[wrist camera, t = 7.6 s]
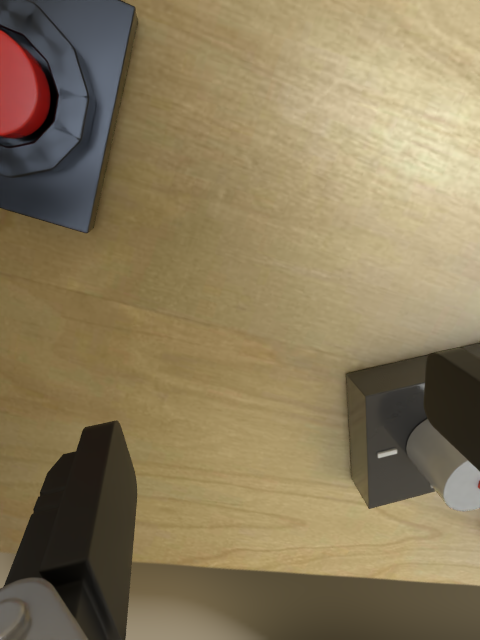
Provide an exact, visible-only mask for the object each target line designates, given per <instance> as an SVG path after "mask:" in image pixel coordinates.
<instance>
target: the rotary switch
mask: <svg viewBox="0 0 480 640" xmlns="http://www.w3.org/2000/svg"><path fill="white" fill-rule="evenodd" d="M460 348H463V349H465V350H467V351H468V352H470V353H472V354H473V355H475V356H477V357H478V358H480V343H477V344H473V345H469V346H464V347H460ZM428 356H429V355H425V356H421V357H417V358H412V359H408V360H404V361H399V362H395V363H391V364H386V365H382V366H378V367H373V368H369V369H365V370H360V371H356V372H352V373H347V374H346V379H347V398H348V417H349V436H350V454H351V473H352V480H353V482H354V484H355V486H356V487H357V489H358V491H359V492H360V494H361V496H362V498H363V499H364V501H365V503H366V504H367V506H368V508H369V509H371V508H375V507H379V506H382V505H386V504H390V503H394V502H397V501H401V500H405V499H408V498H412V497H416V496H420V495H423V494H427V493H431V492H435V490H434V488H433V487H432V486H431V485H430V483H429V482H428V481H427V480H426V479H425V477H424V476H423V475H422V474H421V472H420V471H419V470H418V469H417V468H416V466H415V465H414V464H413V463H412V461H411V460H410V459H409V457H408V455H407V451H406V446H407V442H408V439H409V437H410V435H411V433H412V432H413V431H414V429H415V428H416V427H417V426H418V425H419V424H421V423H422V422H423V421H425V420H427V419H428V418H427V416H426V414H425V410H424V388H425V372H426V360H427V358H428Z"/></svg>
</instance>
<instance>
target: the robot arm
mask: <svg viewBox="0 0 480 640" xmlns="http://www.w3.org/2000/svg"><path fill="white" fill-rule="evenodd" d="M424 410H425V414H426V416H427V418H428V420H429V422H430V424H431V425H432V426H433V427H434V428H435V429H436V430H437V431H438V432H439V433H440V434H441V435H442V436H443V437H444V438H445V439H446V440H447V441H448V442H449V443H450V444H451V445H453V446H454V447H455V448H456V449H457V450H458V451H459V452H460V453H461V454H462V455H463V456H464V457H465V458H466V459H467V460H468V461H469V462H470V463H471V464H472V465H473V466H474V467H475V468H477V469H478V470H479V471H480V358H478V357H477V356H475V355H473V354H472V353H470V352H468V351H467V350H465V349H463V348H454V349H450V350H445V351H440V352H436V353H432V354H430V355H429V356H428V358H427V360H426V372H425V388H424ZM136 504H137V483H136V476H135V471H134V468H133V464H132V461H131V458H130V454H129V451H128V448H127V445H126V441H125V438H124V435H123V432H122V428H121V426H120V423H119V422H118V421H112V422H107V423H102V424H98V425H93V426H89V427H85V428H84V429H83V431H82V435H81V438H80V441H79V444H78V447H77V451H76V452H72V453H67V454H63V455H62V456H61V458H60V459H59V460H58V461H57V462H56V464H55V465H54V466H53V467H52V468H51V469H50V471H49V472H48V473H47V476H46V478H45V481H44V483H43V486H42V489H41V491H40V497H38V499H37V502H36V504H35V507H34V509H33V510H34V514H32V515H31V517H30V520H29V523H28V525H27V528H26V530H25V533H24V536H23V538H22V541H21V543H20V546H19V549H18V551H17V554H16V556H15V559H14V562H13V564H12V567H11V569H10V572H9V575H8V577H7V580H6V582H5V585H4V587H3V588H1V589H0V640H125V636H126V625H127V613H128V601H129V589H130V576H131V565H132V553H133V541H134V528H135V516H136Z"/></svg>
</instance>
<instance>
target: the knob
mask: <svg viewBox="0 0 480 640" xmlns="http://www.w3.org/2000/svg"><path fill="white" fill-rule="evenodd" d="M406 451H407V455H408V457H409V459H410V460H411V461H412V463H413V464H414V465H415V466H416V468H417V469H418V470H419V471H420V472H421V474H422V475H423V476H424V477H425V479H426V480H427V481H428V482H429V483H430V485H431V486H432V487H433V488H434V490H435V491H436V492H437V493H438V494H439V496H440V497H441V498H442V499H443V501H444V502H445V503H446V504H447V505H448V506H449V507H450V508H452V509H454V510H457V511H471V510H475V509H478V508H480V471H479V470H478V469H477V468H475V467H474V466H473V465H472V464H471V463H470V462H469V461H468V460H467V459H466V458H465V457H464V456H463V455H462V454H461V453H460V452H459V451H458V450H457V449H456V448H455V447H454V446H453V445H451V444H450V443H449V442H448V441H447V440H446V439H445V438H444V437H443V436H442V435H441V434H440V433H439V432H438V431H437V430H436V429H435V428H434V427H433V426H432V425H431V424H430V422H429V420H428V419H427V420H425V421H423V422H422V423H421V424H419V425H418V426H417V427H416V428H415V429H414V431H413V432H412V433H411V435H410V437H409V439H408V442H407V446H406Z"/></svg>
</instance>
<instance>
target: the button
mask: <svg viewBox="0 0 480 640" xmlns="http://www.w3.org/2000/svg"><path fill="white" fill-rule="evenodd" d="M49 108H50V89H49V84H48V81H47V78H46V76H45V73H44V71H43V70H42V68H41V66H40V65H39V63H38V62H37V60H36V59H35V58H34V57H33V56H32V55H31V54H30V53H29V52H28V51H27V50H26V49H25V48H24V47H22V46H21V45H20V44H19V43H18V42H16V41H15V40H14V39H13V38H11V37H10V36H9V35H8V34H6V33H5V32H3V31H2V30H0V137H2V138H14V139H15V138H22V137H25V136H28V135H30V134H32V133H33V132H35V131H36V130H37V129H39V128H40V127H41V125H42V124H43V123H44V121H45V119H46V118H47V115H48V113H49Z"/></svg>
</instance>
